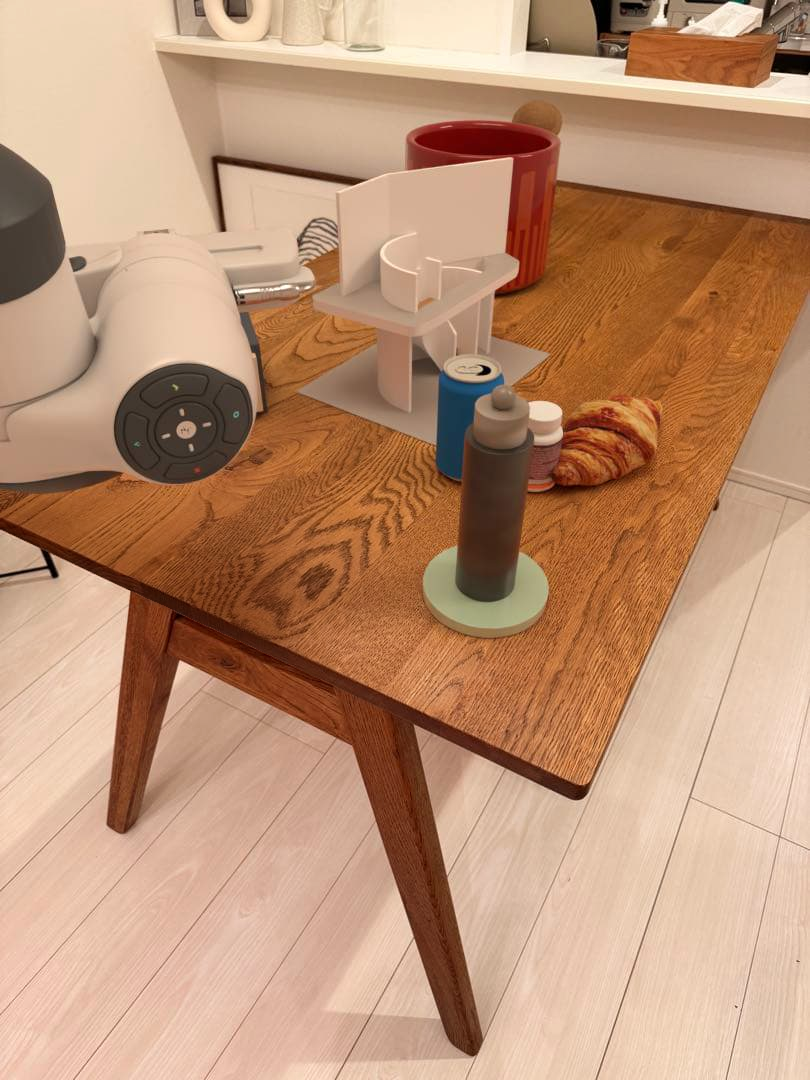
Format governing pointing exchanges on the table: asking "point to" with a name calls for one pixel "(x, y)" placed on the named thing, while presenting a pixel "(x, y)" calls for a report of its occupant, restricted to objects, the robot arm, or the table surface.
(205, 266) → the robot arm
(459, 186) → the architectural model
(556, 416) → the pill bottle
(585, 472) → the croissant
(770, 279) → the table surface
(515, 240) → the planter
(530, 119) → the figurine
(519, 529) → the pepper mill
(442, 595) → the disc
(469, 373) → the beverage can
